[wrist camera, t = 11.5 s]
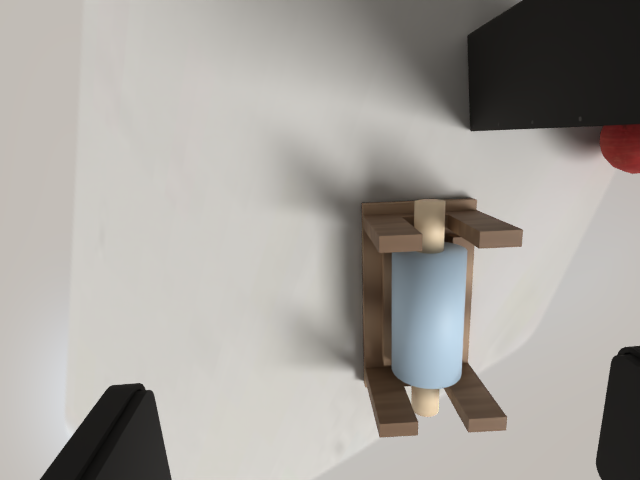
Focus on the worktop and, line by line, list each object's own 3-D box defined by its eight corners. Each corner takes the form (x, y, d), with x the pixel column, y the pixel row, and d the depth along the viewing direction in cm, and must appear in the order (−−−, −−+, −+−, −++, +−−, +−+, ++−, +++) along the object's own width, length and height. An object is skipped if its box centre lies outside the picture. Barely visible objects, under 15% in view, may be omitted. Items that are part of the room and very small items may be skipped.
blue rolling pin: (385, 197, 36) (400, 209, 30) (454, 194, 36) (482, 205, 30) (386, 390, 40) (398, 432, 34) (447, 387, 40) (469, 429, 35)
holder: (361, 203, 37) (379, 223, 28) (472, 198, 37) (524, 217, 28) (363, 381, 41) (379, 447, 32) (462, 376, 41) (505, 439, 33)
